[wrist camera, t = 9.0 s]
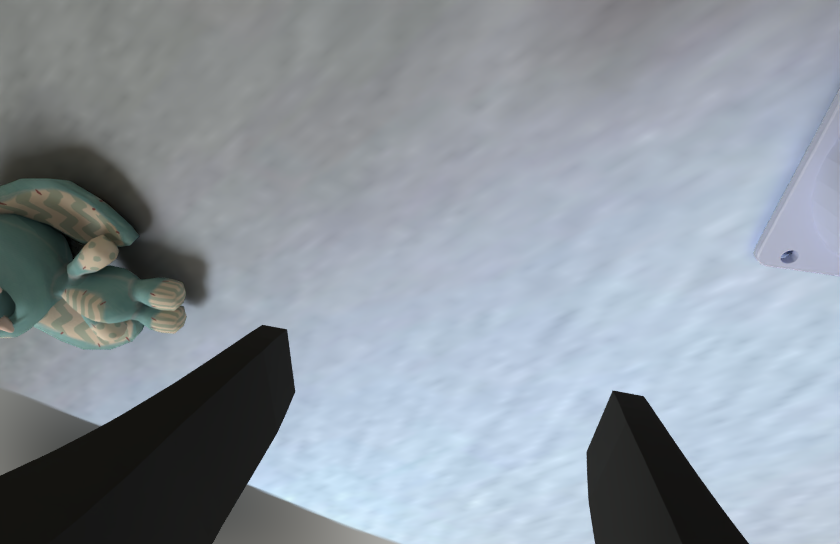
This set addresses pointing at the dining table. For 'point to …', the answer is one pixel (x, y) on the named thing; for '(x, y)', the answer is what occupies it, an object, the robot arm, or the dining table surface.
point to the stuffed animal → (75, 270)
